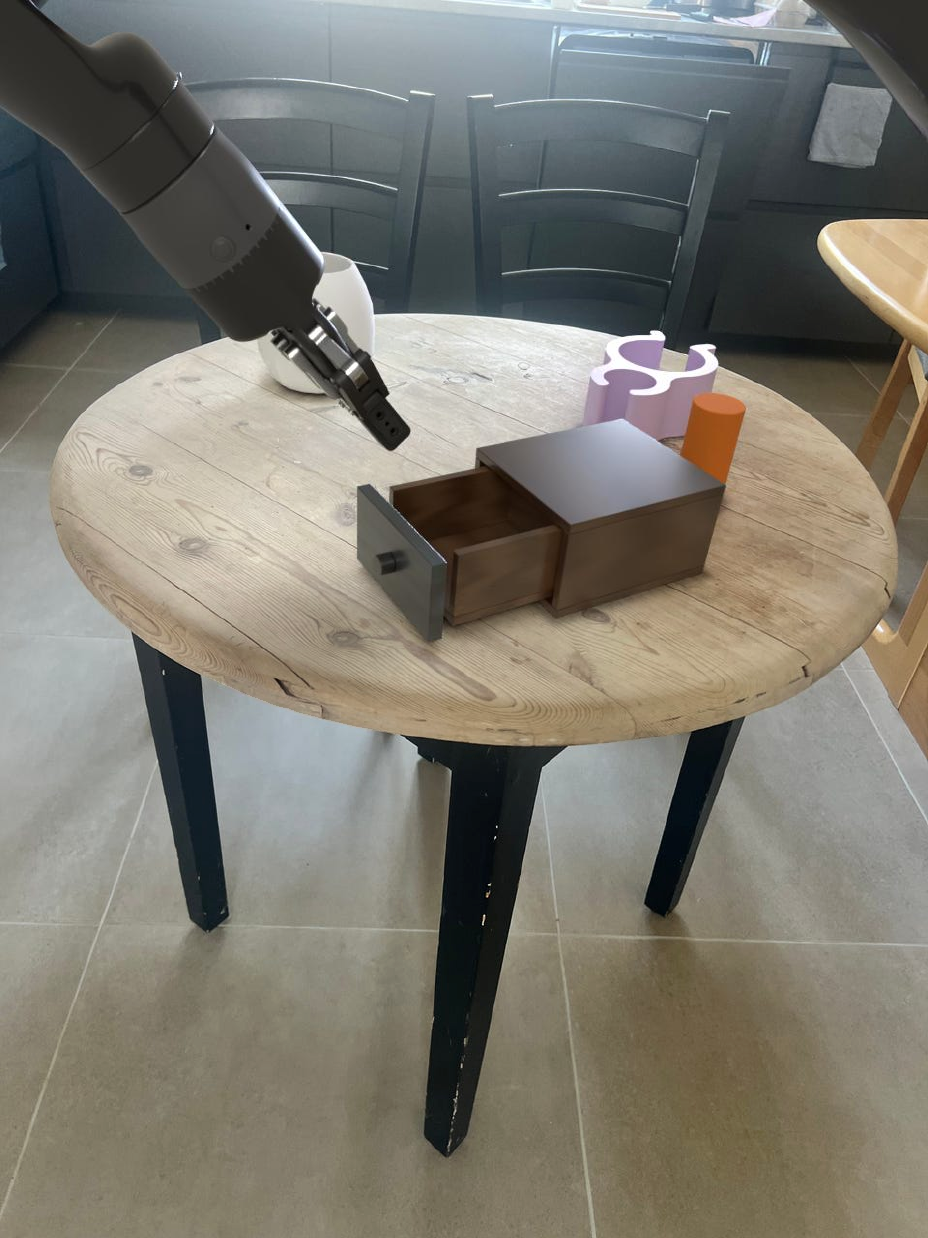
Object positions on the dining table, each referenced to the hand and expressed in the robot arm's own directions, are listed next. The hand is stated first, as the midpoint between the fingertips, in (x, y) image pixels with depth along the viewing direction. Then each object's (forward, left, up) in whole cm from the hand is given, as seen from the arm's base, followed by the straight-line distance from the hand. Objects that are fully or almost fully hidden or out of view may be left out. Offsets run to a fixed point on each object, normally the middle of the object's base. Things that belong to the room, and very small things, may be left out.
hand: (397, 438), depth 63 cm
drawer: (-3, -5, -13) cm, 15 cm away
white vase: (+31, -32, -14) cm, 47 cm away
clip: (-4, -46, -14) cm, 48 cm away
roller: (-15, -32, -14) cm, 38 cm away
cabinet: (-10, -16, -14) cm, 23 cm away
